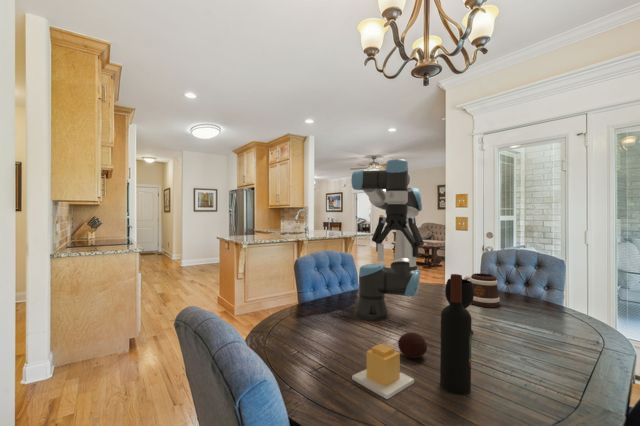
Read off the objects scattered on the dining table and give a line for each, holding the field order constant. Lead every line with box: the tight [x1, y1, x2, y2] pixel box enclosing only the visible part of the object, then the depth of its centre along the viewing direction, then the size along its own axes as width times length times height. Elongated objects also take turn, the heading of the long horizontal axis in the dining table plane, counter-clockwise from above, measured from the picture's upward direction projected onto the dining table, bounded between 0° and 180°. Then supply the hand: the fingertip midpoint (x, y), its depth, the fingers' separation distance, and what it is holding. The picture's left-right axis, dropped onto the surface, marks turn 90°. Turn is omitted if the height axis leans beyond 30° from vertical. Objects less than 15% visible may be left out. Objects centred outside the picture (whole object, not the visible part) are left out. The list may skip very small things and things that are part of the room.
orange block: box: [365, 343, 401, 387], centre depth 84 cm, size 6×6×8 cm
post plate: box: [351, 368, 415, 400], centre depth 85 cm, size 12×12×6 cm
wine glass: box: [444, 278, 474, 336], centre depth 122 cm, size 10×10×20 cm
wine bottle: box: [439, 273, 472, 396], centre depth 82 cm, size 8×8×30 cm
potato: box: [397, 332, 428, 360], centre depth 99 cm, size 8×9×8 cm
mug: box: [463, 273, 501, 309], centre depth 162 cm, size 20×15×15 cm
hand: (395, 263), depth 108 cm, fingers open, 13 cm apart
